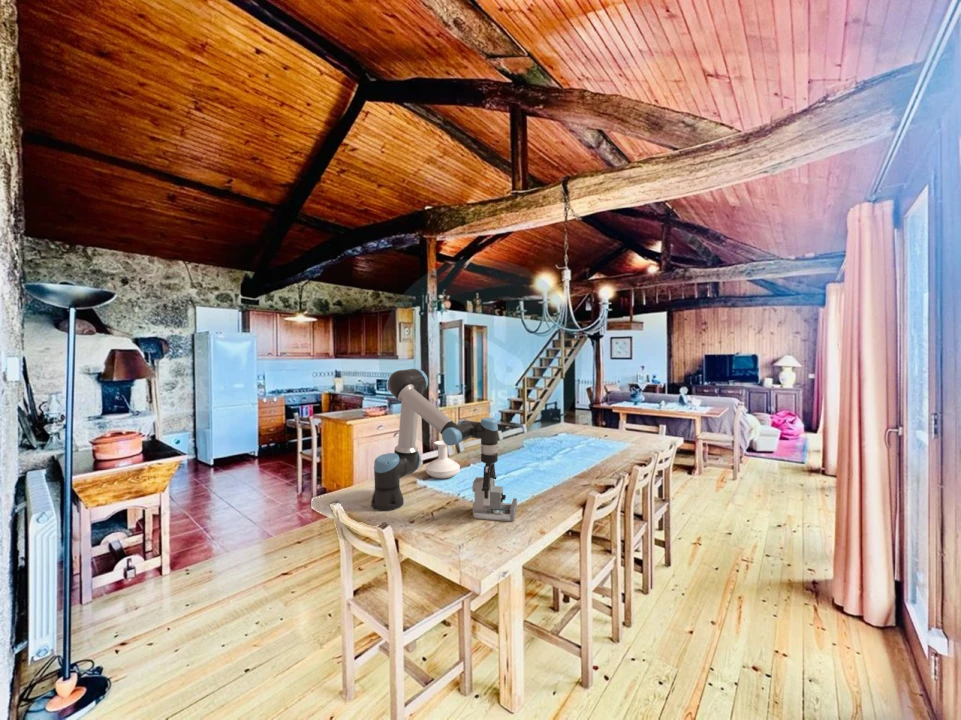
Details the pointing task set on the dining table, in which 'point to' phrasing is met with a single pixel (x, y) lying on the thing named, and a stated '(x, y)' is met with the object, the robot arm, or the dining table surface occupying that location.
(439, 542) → the dining table surface
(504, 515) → the channel
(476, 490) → the circuit breaker
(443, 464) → the white vase
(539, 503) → the dining table surface
